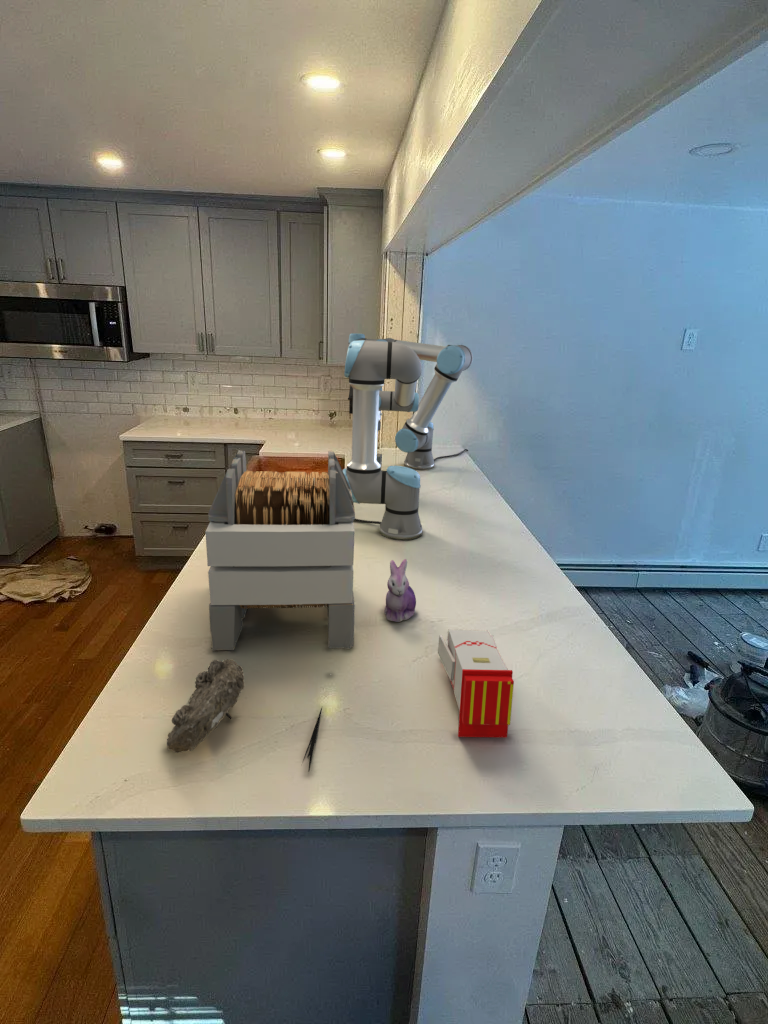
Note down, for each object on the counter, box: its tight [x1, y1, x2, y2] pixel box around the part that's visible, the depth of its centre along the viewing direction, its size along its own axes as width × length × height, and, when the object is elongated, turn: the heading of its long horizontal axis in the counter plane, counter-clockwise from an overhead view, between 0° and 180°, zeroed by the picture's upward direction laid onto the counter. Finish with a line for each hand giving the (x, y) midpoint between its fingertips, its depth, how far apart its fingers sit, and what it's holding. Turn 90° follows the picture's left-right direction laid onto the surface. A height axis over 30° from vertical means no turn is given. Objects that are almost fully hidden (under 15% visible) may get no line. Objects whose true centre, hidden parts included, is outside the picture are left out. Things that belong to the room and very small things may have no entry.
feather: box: [301, 673, 332, 771], centre depth 108 cm, size 2×28×2 cm
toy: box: [437, 628, 515, 738], centre depth 117 cm, size 12×13×30 cm
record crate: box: [204, 449, 356, 652], centre depth 138 cm, size 34×33×41 cm
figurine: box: [384, 558, 417, 623], centre depth 145 cm, size 9×10×15 cm
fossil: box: [166, 658, 245, 754], centre depth 106 cm, size 22×10×15 cm
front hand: (369, 474), depth 241 cm, fingers closed on brick, 5 cm apart
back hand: (354, 411), depth 280 cm, fingers open, 13 cm apart
